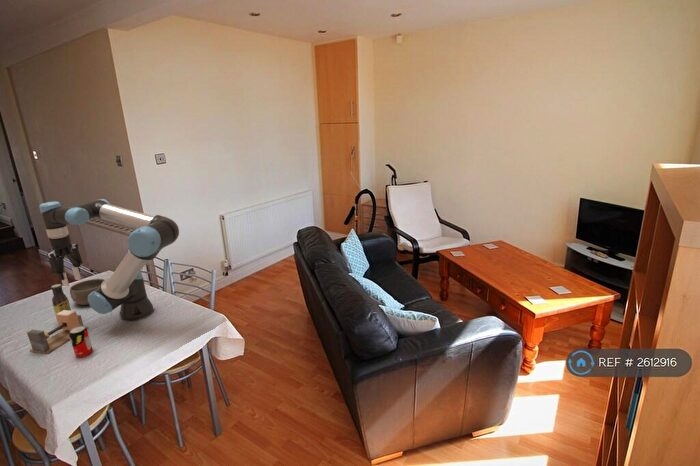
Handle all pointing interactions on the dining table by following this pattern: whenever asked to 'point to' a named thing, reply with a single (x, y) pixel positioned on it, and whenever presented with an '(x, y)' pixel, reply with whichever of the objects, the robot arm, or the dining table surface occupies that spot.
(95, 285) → the bowl
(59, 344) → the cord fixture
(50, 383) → the dining table surface
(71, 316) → the sleeve
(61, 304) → the sauce bottle
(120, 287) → the robot arm
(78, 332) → the beverage can
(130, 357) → the dining table surface
